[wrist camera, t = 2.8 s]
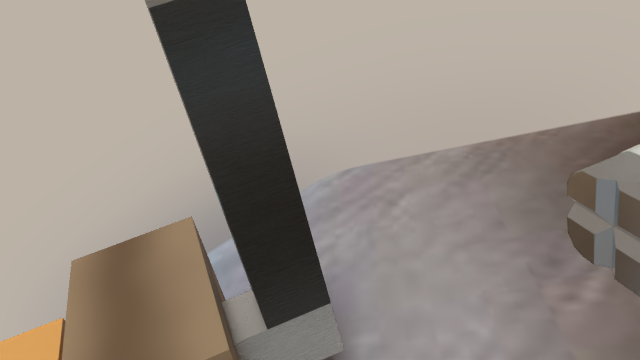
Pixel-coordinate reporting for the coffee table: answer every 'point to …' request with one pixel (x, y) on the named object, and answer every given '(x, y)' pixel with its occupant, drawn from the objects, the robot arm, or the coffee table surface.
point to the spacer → (36, 343)
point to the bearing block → (148, 301)
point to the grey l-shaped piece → (249, 179)
